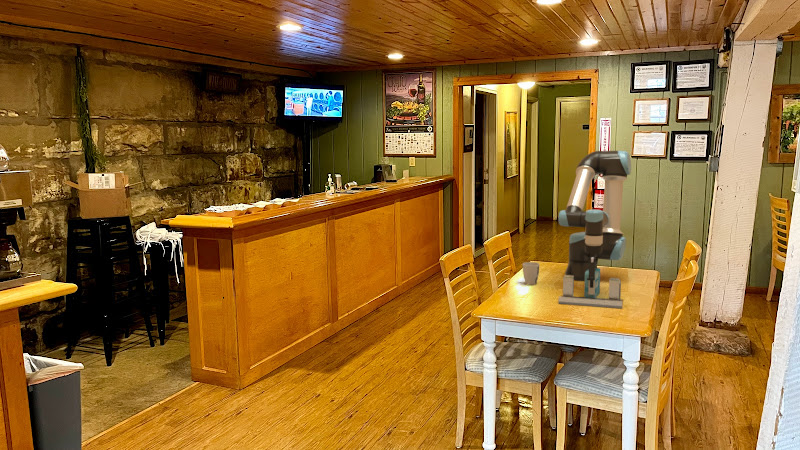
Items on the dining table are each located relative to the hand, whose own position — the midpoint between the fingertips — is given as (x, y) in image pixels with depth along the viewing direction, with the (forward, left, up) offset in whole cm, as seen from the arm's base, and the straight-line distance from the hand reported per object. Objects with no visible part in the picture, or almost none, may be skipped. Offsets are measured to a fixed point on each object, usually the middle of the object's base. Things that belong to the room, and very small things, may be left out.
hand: (592, 290), depth 273 cm
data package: (0, 0, -3) cm, 3 cm away
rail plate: (+12, 0, -2) cm, 12 cm away
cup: (-14, -30, -2) cm, 33 cm away
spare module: (+4, +10, -2) cm, 11 cm away
